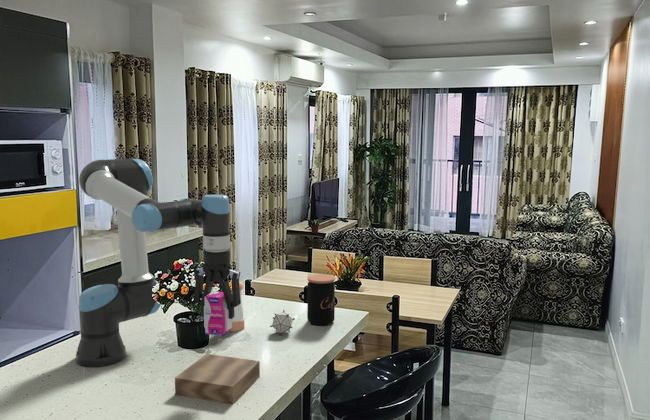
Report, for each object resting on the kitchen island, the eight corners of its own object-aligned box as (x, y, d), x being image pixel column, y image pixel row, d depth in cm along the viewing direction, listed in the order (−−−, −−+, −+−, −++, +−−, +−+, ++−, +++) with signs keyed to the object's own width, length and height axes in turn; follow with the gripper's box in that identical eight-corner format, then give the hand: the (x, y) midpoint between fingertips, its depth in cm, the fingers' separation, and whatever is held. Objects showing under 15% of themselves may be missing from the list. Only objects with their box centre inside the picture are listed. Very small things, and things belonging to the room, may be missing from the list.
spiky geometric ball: (278, 343, 204) (262, 325, 200) (282, 328, 211) (267, 310, 208) (298, 335, 201) (282, 316, 197) (301, 320, 208) (286, 301, 205)
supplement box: (204, 335, 157) (203, 296, 155) (213, 328, 163) (212, 290, 161) (223, 336, 156) (222, 297, 154) (231, 329, 162) (230, 291, 160)
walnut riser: (175, 394, 156) (174, 377, 155) (206, 368, 173) (206, 353, 172) (233, 404, 150) (232, 386, 150) (259, 376, 168) (259, 361, 167)
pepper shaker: (248, 328, 209) (247, 279, 206) (231, 332, 204) (230, 282, 201) (238, 323, 214) (237, 275, 212) (221, 327, 210) (220, 278, 207)
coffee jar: (322, 328, 209) (322, 282, 207) (301, 322, 216) (301, 277, 214) (339, 321, 218) (340, 277, 215) (319, 315, 224) (319, 272, 222)
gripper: (179, 249, 155) (182, 328, 158) (241, 254, 150) (242, 335, 153) (193, 244, 162) (195, 320, 165) (252, 249, 157) (253, 327, 160)
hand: (218, 327), depth 159 cm, fingers closed on supplement box, 6 cm apart
